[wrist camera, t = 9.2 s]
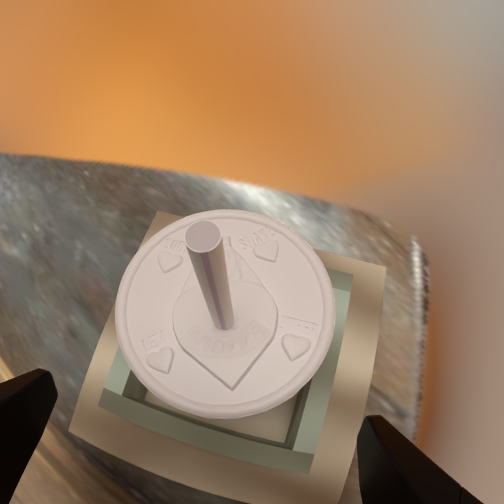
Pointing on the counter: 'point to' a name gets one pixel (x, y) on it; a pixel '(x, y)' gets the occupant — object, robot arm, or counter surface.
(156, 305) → the smoothie
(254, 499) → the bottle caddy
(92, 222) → the counter surface
